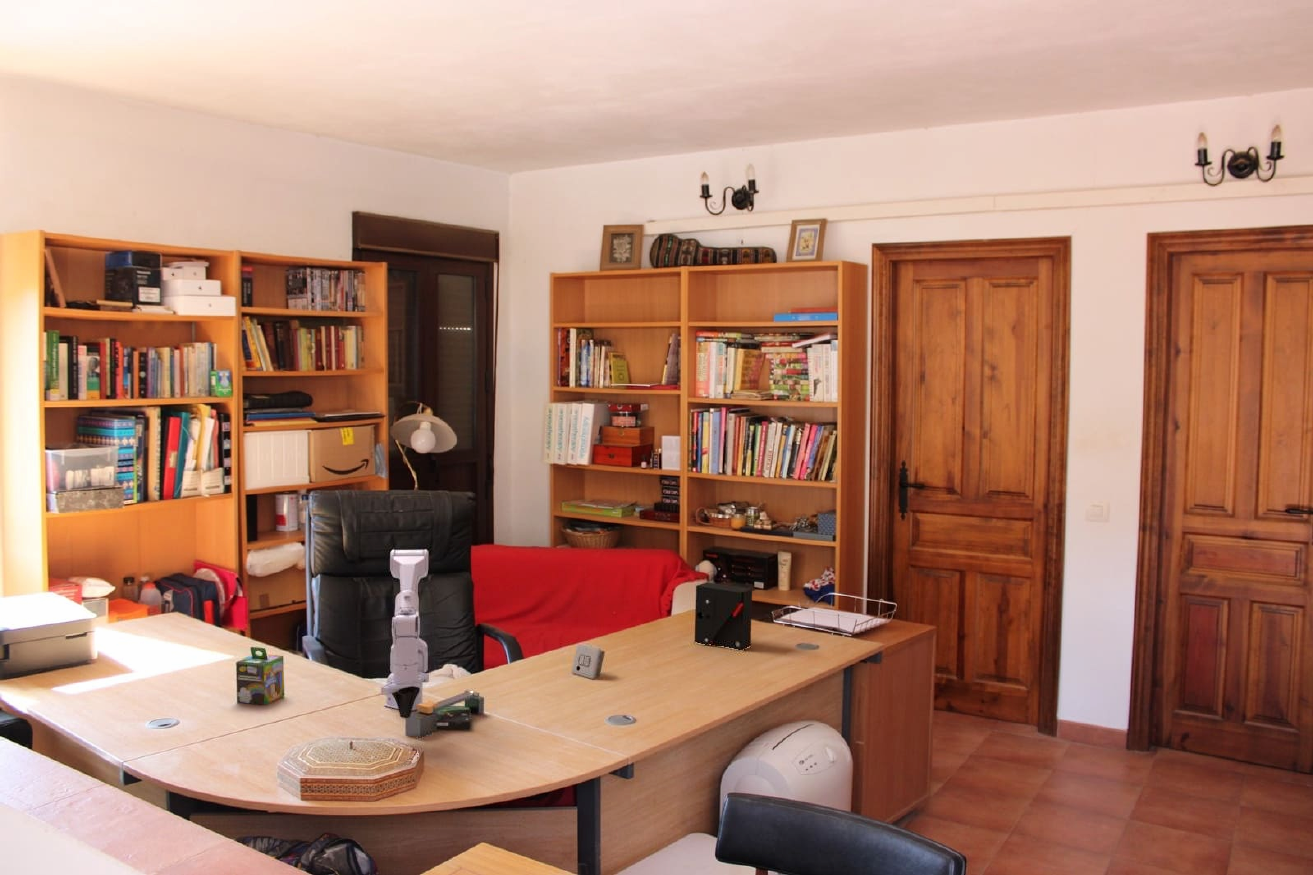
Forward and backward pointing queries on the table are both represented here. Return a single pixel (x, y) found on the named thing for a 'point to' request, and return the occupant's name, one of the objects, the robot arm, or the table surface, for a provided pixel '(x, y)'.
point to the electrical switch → (587, 661)
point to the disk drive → (454, 718)
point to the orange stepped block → (426, 707)
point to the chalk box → (260, 678)
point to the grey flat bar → (455, 700)
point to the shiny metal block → (427, 723)
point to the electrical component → (723, 615)
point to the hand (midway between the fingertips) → (405, 717)
